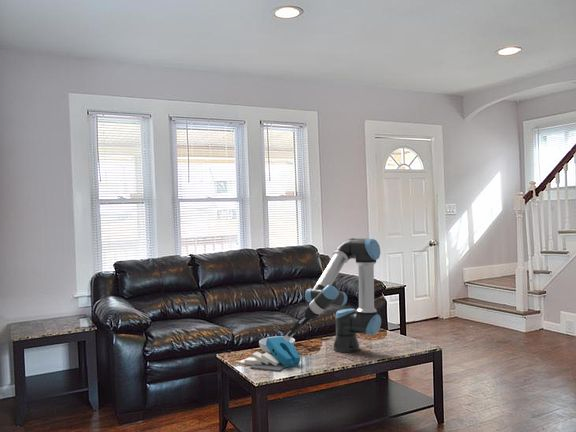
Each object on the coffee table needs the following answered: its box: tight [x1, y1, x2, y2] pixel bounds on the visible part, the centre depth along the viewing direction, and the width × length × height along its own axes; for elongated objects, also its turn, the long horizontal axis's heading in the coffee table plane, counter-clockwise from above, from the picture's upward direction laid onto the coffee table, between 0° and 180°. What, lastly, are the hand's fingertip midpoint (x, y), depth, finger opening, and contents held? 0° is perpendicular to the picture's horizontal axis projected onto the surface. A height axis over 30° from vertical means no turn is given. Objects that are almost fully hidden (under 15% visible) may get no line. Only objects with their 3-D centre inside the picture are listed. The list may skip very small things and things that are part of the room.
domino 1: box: [238, 359, 254, 366], centre depth 278 cm, size 2×5×10 cm
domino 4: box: [261, 352, 281, 366], centre depth 273 cm, size 2×5×10 cm
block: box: [266, 337, 301, 368], centre depth 277 cm, size 12×5×20 cm
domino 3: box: [251, 351, 270, 365], centre depth 275 cm, size 2×5×10 cm
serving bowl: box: [258, 335, 296, 355], centre depth 298 cm, size 21×21×7 cm
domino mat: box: [249, 363, 287, 372], centre depth 272 cm, size 17×16×1 cm
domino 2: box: [243, 356, 263, 364], centre depth 276 cm, size 2×5×10 cm
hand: (285, 339), depth 268 cm, fingers closed
